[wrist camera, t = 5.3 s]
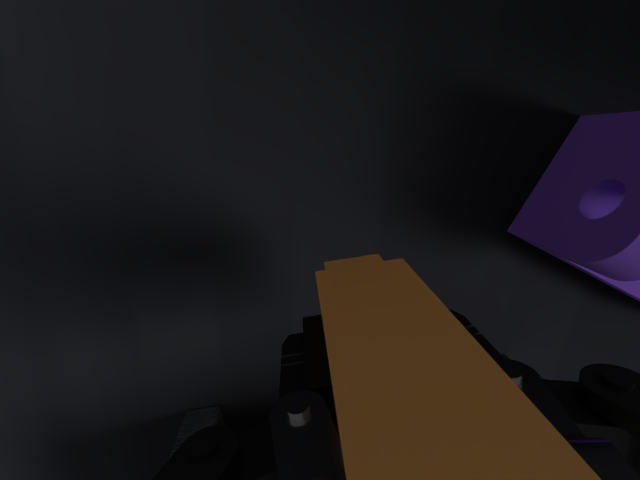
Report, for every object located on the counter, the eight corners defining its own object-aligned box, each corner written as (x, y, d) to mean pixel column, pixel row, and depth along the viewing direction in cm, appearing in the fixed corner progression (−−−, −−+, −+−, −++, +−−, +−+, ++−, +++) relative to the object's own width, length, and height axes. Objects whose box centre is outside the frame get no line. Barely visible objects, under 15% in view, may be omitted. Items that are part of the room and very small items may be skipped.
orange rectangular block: (387, 241, 14) (601, 480, 4) (395, 339, 15) (573, 696, 5) (312, 252, 14) (353, 522, 4) (327, 351, 15) (385, 732, 5)
